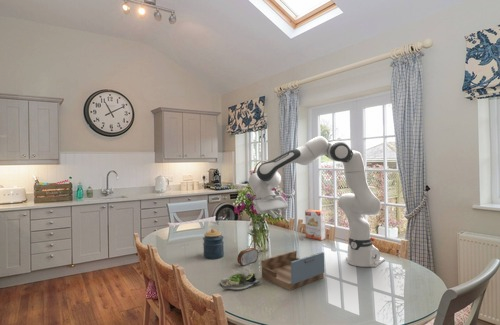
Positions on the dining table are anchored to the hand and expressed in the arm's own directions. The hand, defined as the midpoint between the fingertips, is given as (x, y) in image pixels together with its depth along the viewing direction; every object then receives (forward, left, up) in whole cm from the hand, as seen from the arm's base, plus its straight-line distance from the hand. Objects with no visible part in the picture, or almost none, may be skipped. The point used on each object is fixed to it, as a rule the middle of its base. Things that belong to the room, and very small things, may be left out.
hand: (278, 217), depth 166 cm
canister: (+12, -49, -30) cm, 58 cm away
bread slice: (+4, -23, -30) cm, 38 cm away
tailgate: (0, +20, -26) cm, 33 cm away
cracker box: (-67, -34, -30) cm, 81 cm away
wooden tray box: (0, +9, -29) cm, 31 cm away
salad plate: (+24, -3, -30) cm, 38 cm away
